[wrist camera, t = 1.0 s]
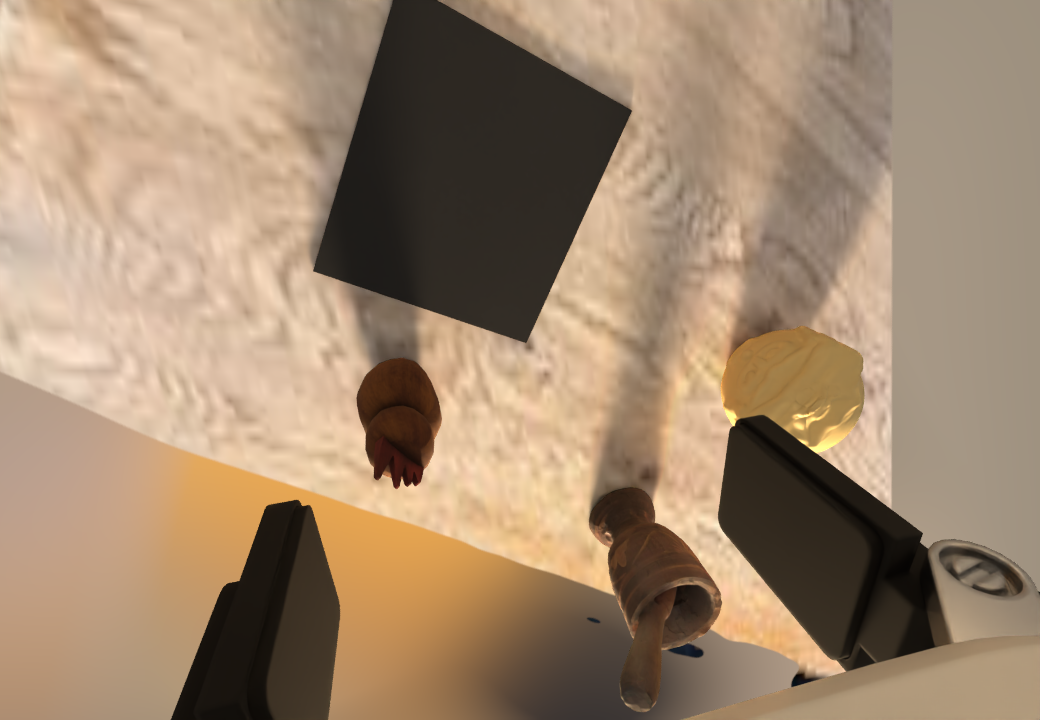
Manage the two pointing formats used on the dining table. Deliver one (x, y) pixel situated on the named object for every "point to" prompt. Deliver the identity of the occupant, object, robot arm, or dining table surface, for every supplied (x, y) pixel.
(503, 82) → the mat
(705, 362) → the dining table surface
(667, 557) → the mortar and pestle
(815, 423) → the sculpture
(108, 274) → the dining table surface
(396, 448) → the wooden figurine
